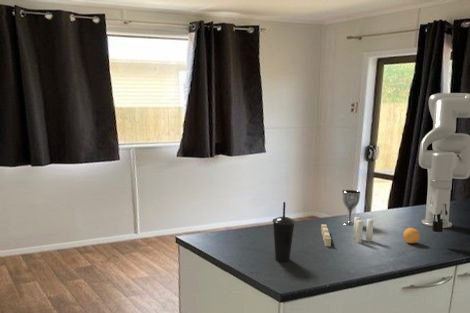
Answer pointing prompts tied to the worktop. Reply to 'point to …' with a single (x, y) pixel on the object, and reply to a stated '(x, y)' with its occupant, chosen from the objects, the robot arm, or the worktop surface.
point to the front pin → (369, 230)
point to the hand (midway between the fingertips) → (437, 231)
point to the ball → (411, 235)
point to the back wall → (326, 235)
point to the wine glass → (350, 203)
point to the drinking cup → (283, 236)
